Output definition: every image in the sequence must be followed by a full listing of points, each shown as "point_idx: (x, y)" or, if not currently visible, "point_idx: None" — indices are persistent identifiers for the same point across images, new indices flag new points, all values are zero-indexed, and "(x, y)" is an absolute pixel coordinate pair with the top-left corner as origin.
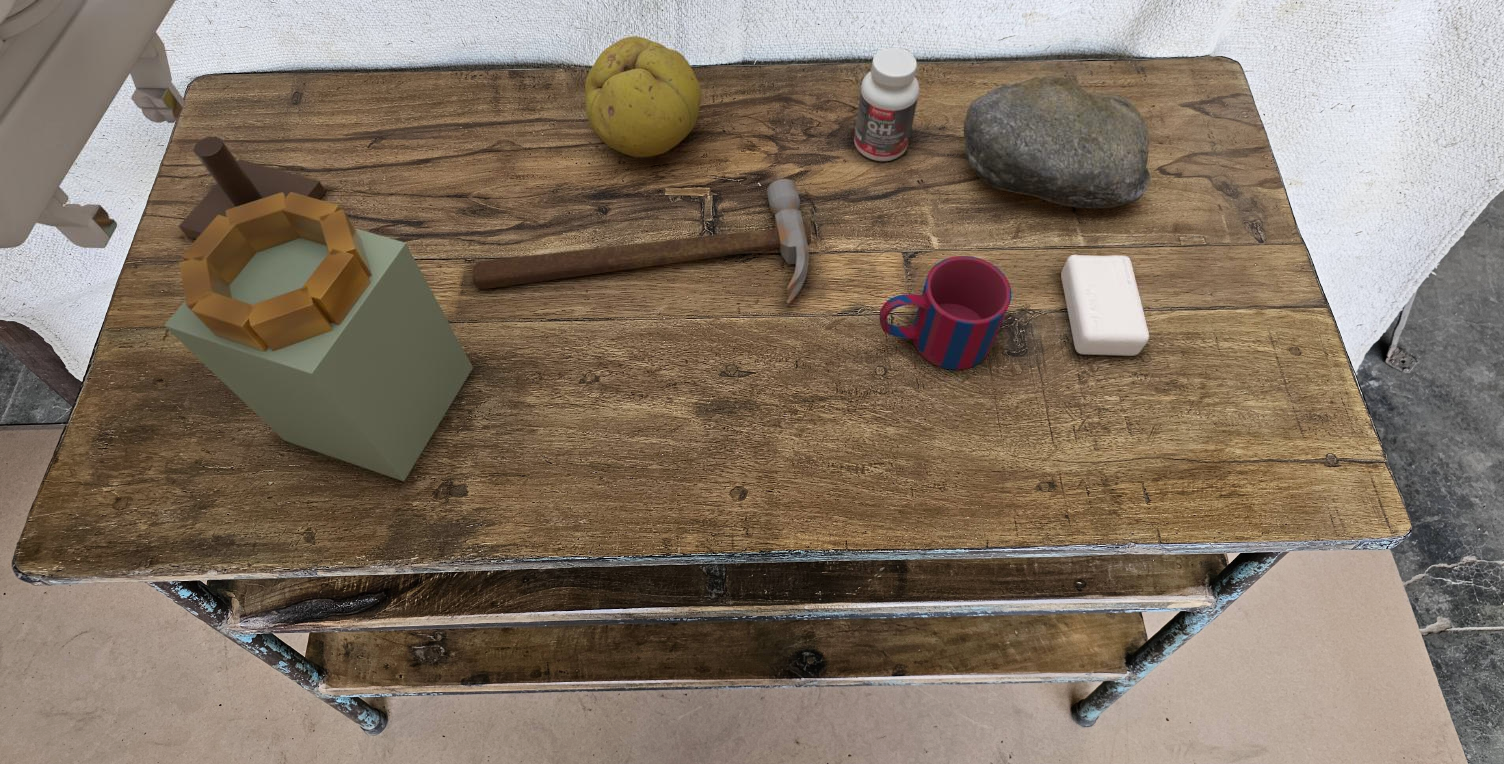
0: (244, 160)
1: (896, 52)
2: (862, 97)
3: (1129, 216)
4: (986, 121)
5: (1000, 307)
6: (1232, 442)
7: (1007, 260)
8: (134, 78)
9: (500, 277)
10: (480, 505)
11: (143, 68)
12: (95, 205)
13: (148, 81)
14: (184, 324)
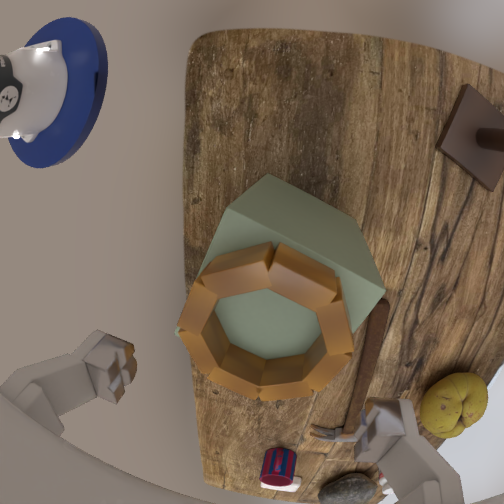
0: None
1: None
2: None
3: (320, 489)
4: (356, 494)
5: (272, 478)
6: (230, 479)
7: (312, 470)
8: (410, 449)
9: (371, 320)
10: None
11: (407, 473)
12: (113, 401)
13: (394, 459)
14: (225, 229)
